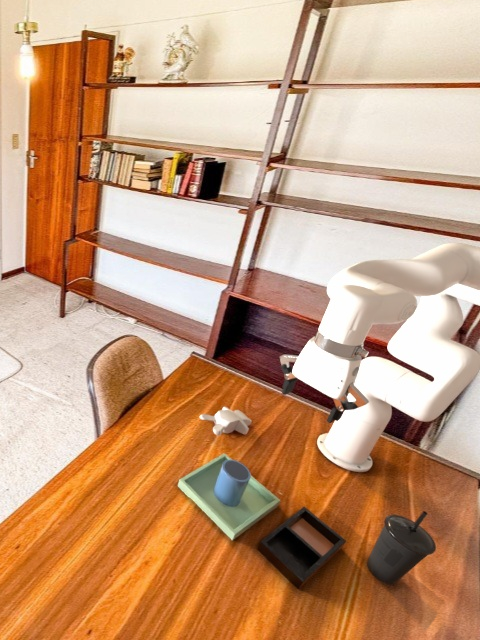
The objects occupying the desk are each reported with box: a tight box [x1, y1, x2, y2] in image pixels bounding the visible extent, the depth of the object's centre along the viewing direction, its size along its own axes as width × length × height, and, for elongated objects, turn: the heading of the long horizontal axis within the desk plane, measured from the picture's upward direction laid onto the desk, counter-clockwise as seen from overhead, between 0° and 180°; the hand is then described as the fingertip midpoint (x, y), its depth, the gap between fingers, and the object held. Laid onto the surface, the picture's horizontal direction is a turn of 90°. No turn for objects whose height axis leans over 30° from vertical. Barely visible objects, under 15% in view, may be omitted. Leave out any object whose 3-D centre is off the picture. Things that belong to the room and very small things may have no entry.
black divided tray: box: [256, 506, 347, 591], centre depth 87 cm, size 17×9×3 cm, turn 119°
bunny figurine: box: [199, 406, 253, 436], centre depth 118 cm, size 10×5×15 cm
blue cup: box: [213, 458, 252, 507], centre depth 96 cm, size 6×6×9 cm
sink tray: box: [177, 452, 281, 541], centre depth 98 cm, size 18×16×3 cm
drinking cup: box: [366, 510, 437, 585], centre depth 80 cm, size 8×8×20 cm
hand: (308, 405), depth 89 cm, fingers open, 9 cm apart
